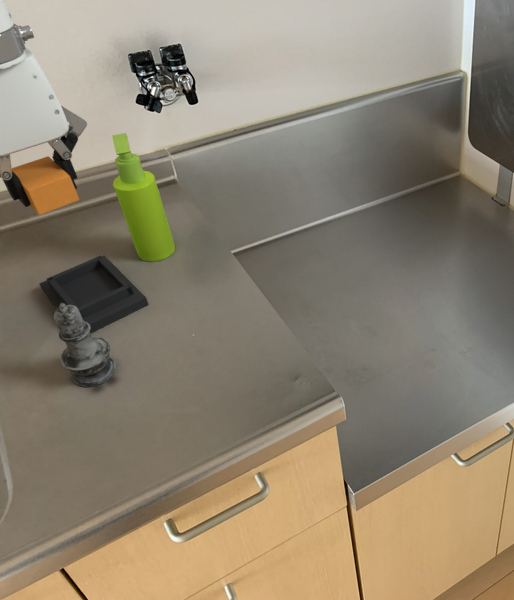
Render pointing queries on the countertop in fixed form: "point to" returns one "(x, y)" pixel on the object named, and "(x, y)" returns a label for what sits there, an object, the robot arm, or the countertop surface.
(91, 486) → the countertop surface
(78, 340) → the grey chess piece
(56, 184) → the orange block
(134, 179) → the soap dispenser
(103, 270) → the black tray
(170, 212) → the countertop surface
